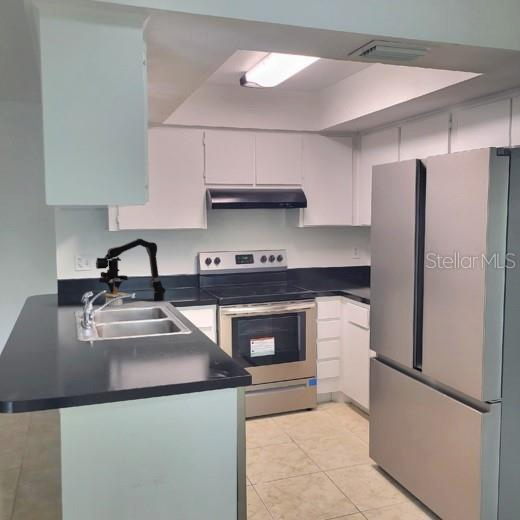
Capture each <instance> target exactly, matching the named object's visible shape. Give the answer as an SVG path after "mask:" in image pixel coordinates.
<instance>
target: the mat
mask: <svg viewBox="0 0 520 520" xmlns="http://www.w3.org/2000/svg"><path fill="white" fill-rule="evenodd" d="M157 303H158V302H154V301H153V302H151V301H143V300H140V301H135V302H129V303H122V306H128V307H135V308H144V307H149V306H156V305H158V304H157ZM155 304H156V305H155Z"/></svg>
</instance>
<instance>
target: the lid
mask: <svg viewBox="0 0 520 520" xmlns="http://www.w3.org/2000/svg"><path fill="white" fill-rule="evenodd" d="M100 294H101V295H99V296H101V297H117V296H121V295H123V296H127V295H126V294H129V295H130V293H127V292H122V291H121V292H120V291H117V287H115V286H114V287H113V293H111V291H110V292H104V294H103V293H100ZM121 297H122V296H121Z"/></svg>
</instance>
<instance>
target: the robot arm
mask: <svg viewBox="0 0 520 520" xmlns="http://www.w3.org/2000/svg"><path fill="white" fill-rule="evenodd" d="M138 246H141V247H143V248H145V250H146V253H147V255H148V256H149V266H150V273H151V279H149V280H148V281H149V287H150V288H151V290H153V292H154V293H153V302H163V301H165V293H166V289H165V288H164V287H163V284H162V281H161V278H160V277H159V269H158V263H157V262H158V261H157V252H158V244H157V243H155V242H154V241H153V242H151V241H147V240H144V239H143V238H137V239H134V240H132V241H130V242H127V243H125V244H123V245H120V246H115V247H110V248H108V250H107V252H106V253H107V254H106V255H105V256H104V257H96V260H95V261H96V262H95V267H96V269H97V270H99V269H107V268H108V269H107V270H106V272H105V271H101V272H100V278H99V279H98V282H99V283H103V284H107V286H108V289H109V291H110V292H111V293H113V287H117V292H119V289H120V287H121V286H120V285H122V283H123V281H128V280H129V277H128V276H127V275H126V274H125V275H124V274H121V275H119V272H120V269H119V261H120V262H121V261H122V259H121V258H120V257H119V256H120V255H122V254H123V253H124V252H126V251H128V250H129V251H130V250H131V249H134V248H136V247H138Z"/></svg>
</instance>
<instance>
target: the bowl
mask: <svg viewBox="0 0 520 520" xmlns="http://www.w3.org/2000/svg"><path fill="white" fill-rule="evenodd" d="M117 297H118V296H117ZM113 298H116V297H108V296H105V303H106V302H107V301H109V300H111V299H113ZM121 305H123V298H122V299H118V300H116V301H114V302H112V303H110V304H109V305H108V306H121Z"/></svg>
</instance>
